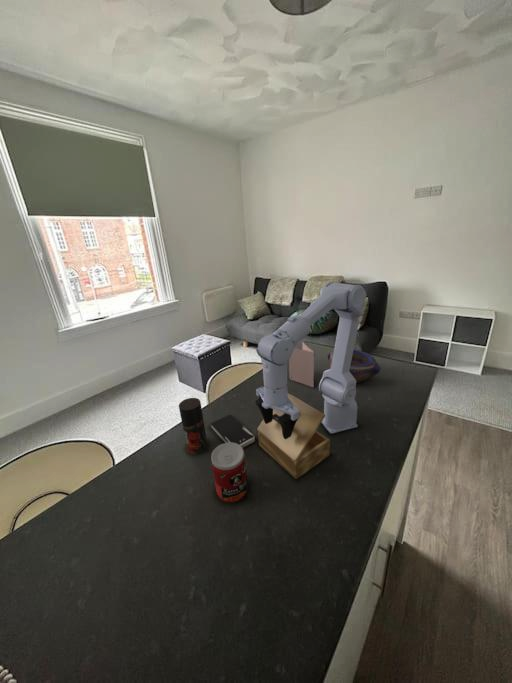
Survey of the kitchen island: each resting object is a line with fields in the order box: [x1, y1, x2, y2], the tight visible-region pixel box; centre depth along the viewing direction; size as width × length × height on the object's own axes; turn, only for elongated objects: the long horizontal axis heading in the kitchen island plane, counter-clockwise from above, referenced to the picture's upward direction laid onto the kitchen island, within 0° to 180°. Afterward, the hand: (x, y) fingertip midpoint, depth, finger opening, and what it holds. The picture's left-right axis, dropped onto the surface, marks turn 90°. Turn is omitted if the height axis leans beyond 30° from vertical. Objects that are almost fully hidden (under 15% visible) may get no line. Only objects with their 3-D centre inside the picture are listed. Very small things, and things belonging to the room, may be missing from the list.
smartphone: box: [210, 414, 256, 449], centre depth 87 cm, size 8×1×15 cm
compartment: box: [257, 429, 331, 480], centre depth 78 cm, size 13×16×5 cm
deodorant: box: [178, 397, 208, 455], centre depth 80 cm, size 6×6×15 cm
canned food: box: [210, 442, 248, 504], centre depth 66 cm, size 8×8×11 cm
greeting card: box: [288, 341, 316, 388], centre depth 111 cm, size 11×7×15 cm, turn 13°
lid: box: [256, 392, 325, 462], centre depth 73 cm, size 13×16×5 cm
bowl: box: [327, 349, 381, 384], centre depth 112 cm, size 18×18×10 cm
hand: (277, 429), depth 72 cm, fingers open, 7 cm apart
